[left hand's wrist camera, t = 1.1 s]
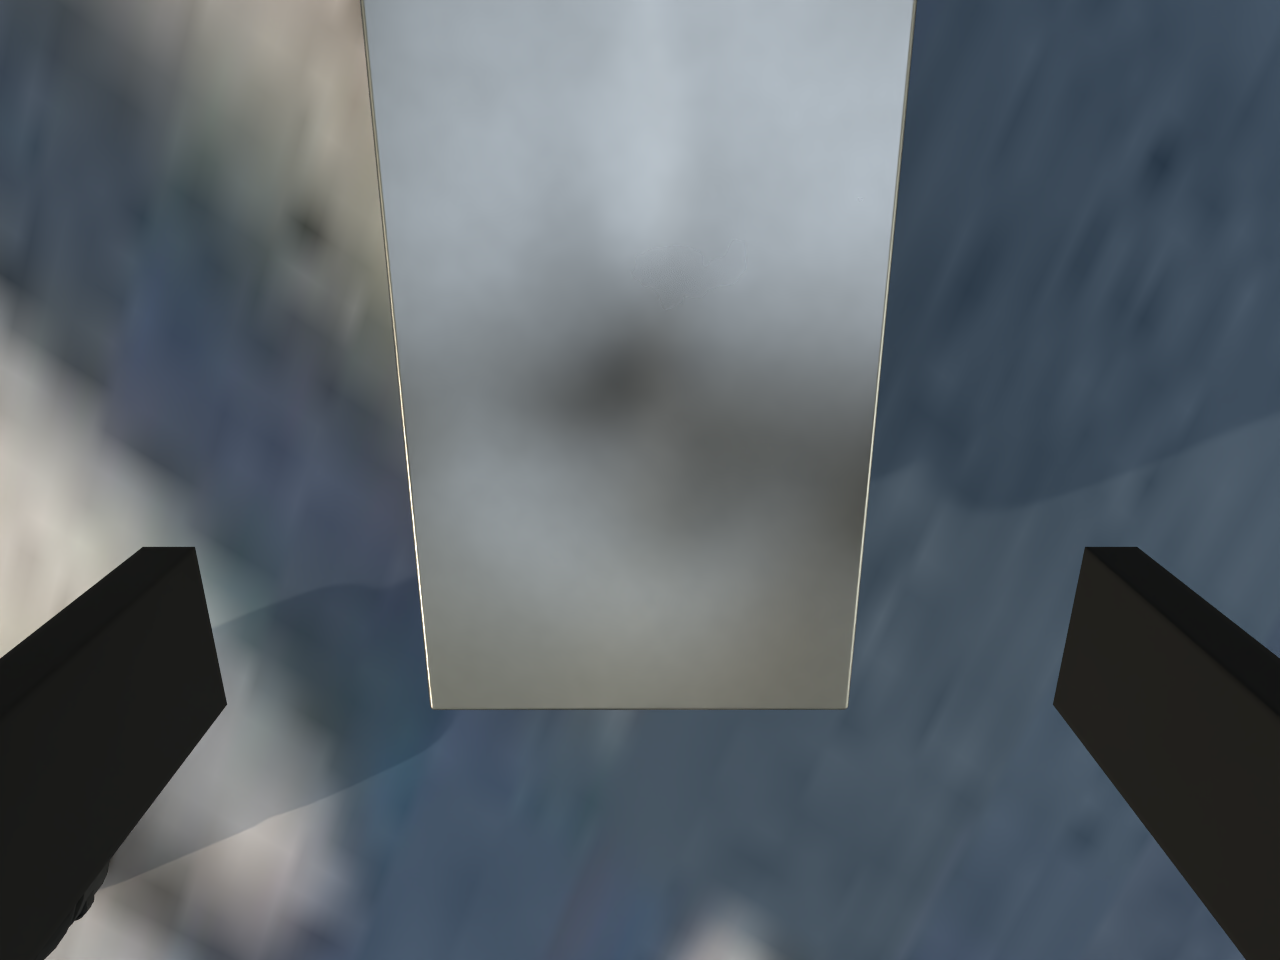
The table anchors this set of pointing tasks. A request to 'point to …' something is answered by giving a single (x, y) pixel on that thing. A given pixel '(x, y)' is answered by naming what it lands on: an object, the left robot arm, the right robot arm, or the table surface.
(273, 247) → the table surface
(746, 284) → the box
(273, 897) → the table surface
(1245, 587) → the table surface
